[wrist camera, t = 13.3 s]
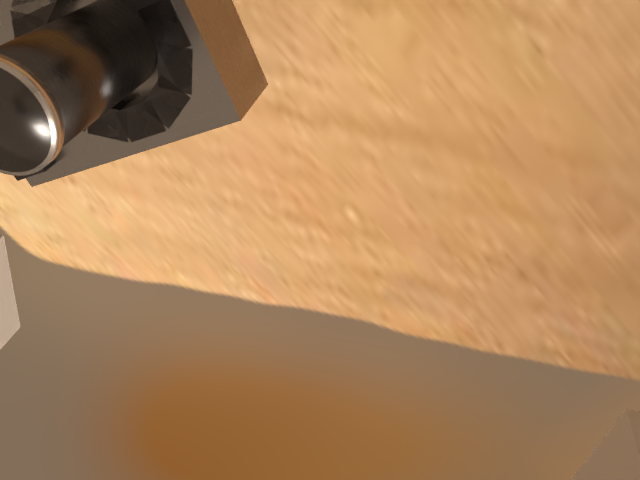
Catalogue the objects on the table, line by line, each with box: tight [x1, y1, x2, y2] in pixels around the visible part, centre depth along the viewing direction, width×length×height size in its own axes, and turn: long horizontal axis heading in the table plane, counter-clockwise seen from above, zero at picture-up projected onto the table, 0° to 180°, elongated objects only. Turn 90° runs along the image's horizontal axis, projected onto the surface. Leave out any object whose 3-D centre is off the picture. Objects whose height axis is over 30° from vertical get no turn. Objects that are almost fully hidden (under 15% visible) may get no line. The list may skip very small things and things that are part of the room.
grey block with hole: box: [0, 0, 268, 187], centre depth 36 cm, size 12×16×7 cm
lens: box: [0, 1, 156, 176], centre depth 30 cm, size 5×5×11 cm
